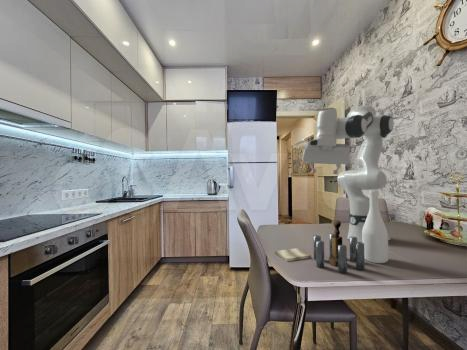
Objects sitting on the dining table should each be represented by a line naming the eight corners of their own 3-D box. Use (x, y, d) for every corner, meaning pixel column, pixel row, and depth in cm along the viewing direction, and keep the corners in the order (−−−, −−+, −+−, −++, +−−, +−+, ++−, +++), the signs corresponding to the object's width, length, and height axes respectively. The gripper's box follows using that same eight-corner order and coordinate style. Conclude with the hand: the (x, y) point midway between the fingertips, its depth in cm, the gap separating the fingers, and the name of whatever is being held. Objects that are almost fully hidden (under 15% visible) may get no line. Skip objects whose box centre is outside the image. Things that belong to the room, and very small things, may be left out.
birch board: (297, 250, 115) (296, 248, 115) (311, 258, 105) (310, 255, 105) (275, 253, 111) (274, 251, 111) (287, 261, 101) (287, 258, 101)
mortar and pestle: (326, 261, 100) (325, 219, 100) (340, 260, 101) (340, 218, 101) (334, 267, 94) (333, 222, 94) (349, 266, 94) (348, 221, 94)
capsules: (341, 254, 109) (340, 232, 109) (374, 268, 92) (374, 242, 92) (304, 259, 103) (303, 236, 103) (333, 275, 86) (332, 248, 86)
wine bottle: (358, 256, 106) (357, 189, 106) (379, 255, 106) (378, 189, 106) (369, 264, 97) (368, 190, 97) (393, 263, 96) (392, 190, 96)
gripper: (347, 145, 109) (346, 175, 109) (302, 143, 112) (300, 172, 112) (352, 143, 103) (351, 174, 103) (304, 141, 106) (302, 172, 106)
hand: (324, 173), depth 107 cm, fingers open, 8 cm apart
